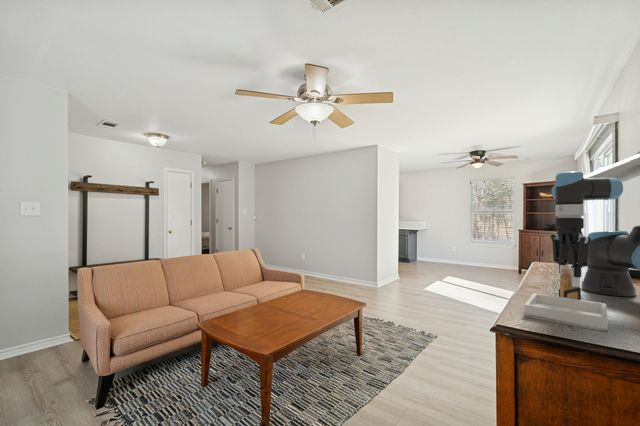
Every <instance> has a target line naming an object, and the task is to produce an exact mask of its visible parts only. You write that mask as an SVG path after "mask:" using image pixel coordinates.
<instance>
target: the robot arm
mask: <svg viewBox="0 0 640 426" xmlns="http://www.w3.org/2000/svg"><path fill="white" fill-rule="evenodd" d="M637 177H640V150H639V151H638V152H637V153H636V154H635V155H634V156H631V157H628V158H626V159H623V160H619V161H618V162H616V163H613V164H609V165H607V166H605V167H602V168H600V169H597V170H594V171H592V172H590V173H586V174H584V172H582V171H565V172H564V171H563V172H559V173H557V174H556V176H555V180H554V181H555V182H554V185H553V187H552V188H551V197H552V198H553V199H554V200H555V216H556V218H555V228H556V229H557V231H556V234H551V235H550V238H551V242H552V256H553V262H554V263H556V264H557V265H558V272H559V275H560V277H559V278H560V280H561V272H562V270H564V271H565V269H566V270H568V269H569V270H570V286H571V287H580V288H581V290H584V291H586V292H591V293H596V294H600V295H607V296H617V297H635V296H636V295H637V289H636V287H635V286H634V283H633V280H632V278H631V275H630V269H632V270H638V271H640V224H639V225H634V226H633V227H632V230H631V231H630V233H629V232H628V231H627V230H608V231H606V230H605V231H594V232H593V231H592V232H590V233H588V234H587V236H586V235H584V234H583V231H582V229H584V228H585V224H584V223H585V220H584V217H583V216H584V213H585V211H584V205H585V204H584V203H585V201H597V200H598V201H600V200H601V201H603V200H604V201H608V200H616V199H618V198H620V196H621V195H622V194H623V192H624V184H623V182H626V181H629V180H631V179H634V178H637ZM569 253H570V258H571V259H570V260H571V265H569V264H570V263H569V262H568V260H569ZM584 267H587V270H586V272H585V275H584V278H583V281H581V277H582V268H584ZM560 280H559V281H560Z"/></svg>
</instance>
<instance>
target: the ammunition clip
mask: <svg viewBox="0 0 640 426" xmlns="http://www.w3.org/2000/svg"><path fill="white" fill-rule="evenodd" d="M581 291H582V287H581V286H580V287H571V286H570V268H569V269H568V270H566V269H565V271H564V270H562V272H561V280H559V289H558V297H563V298H570V299H577V300H582V293H581Z"/></svg>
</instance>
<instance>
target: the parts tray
mask: <svg viewBox="0 0 640 426" xmlns="http://www.w3.org/2000/svg"><path fill="white" fill-rule="evenodd" d="M607 311H608V308H607V304H606V303H604V302H597V301H592V300H591V301H589V300H582V299H581V300H577V299H570V298H563V297H559V296H555V295H549V294H541V293H535V292H533V293H532V294H531V296H530V297H529V298H528V299H527V301H526V302H525V303H524V309H523V312H524V314H523V315H524V317H527V318H532V319H537V320H542V321H546V322H552V323H557V324H563V325H568V326H573V327H577V328H584V329H588V330H593V331H599V332H602V333H603V332H605V333H608V331H609V330H608V329H609V327H608V325H609V324H608V312H607Z"/></svg>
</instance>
